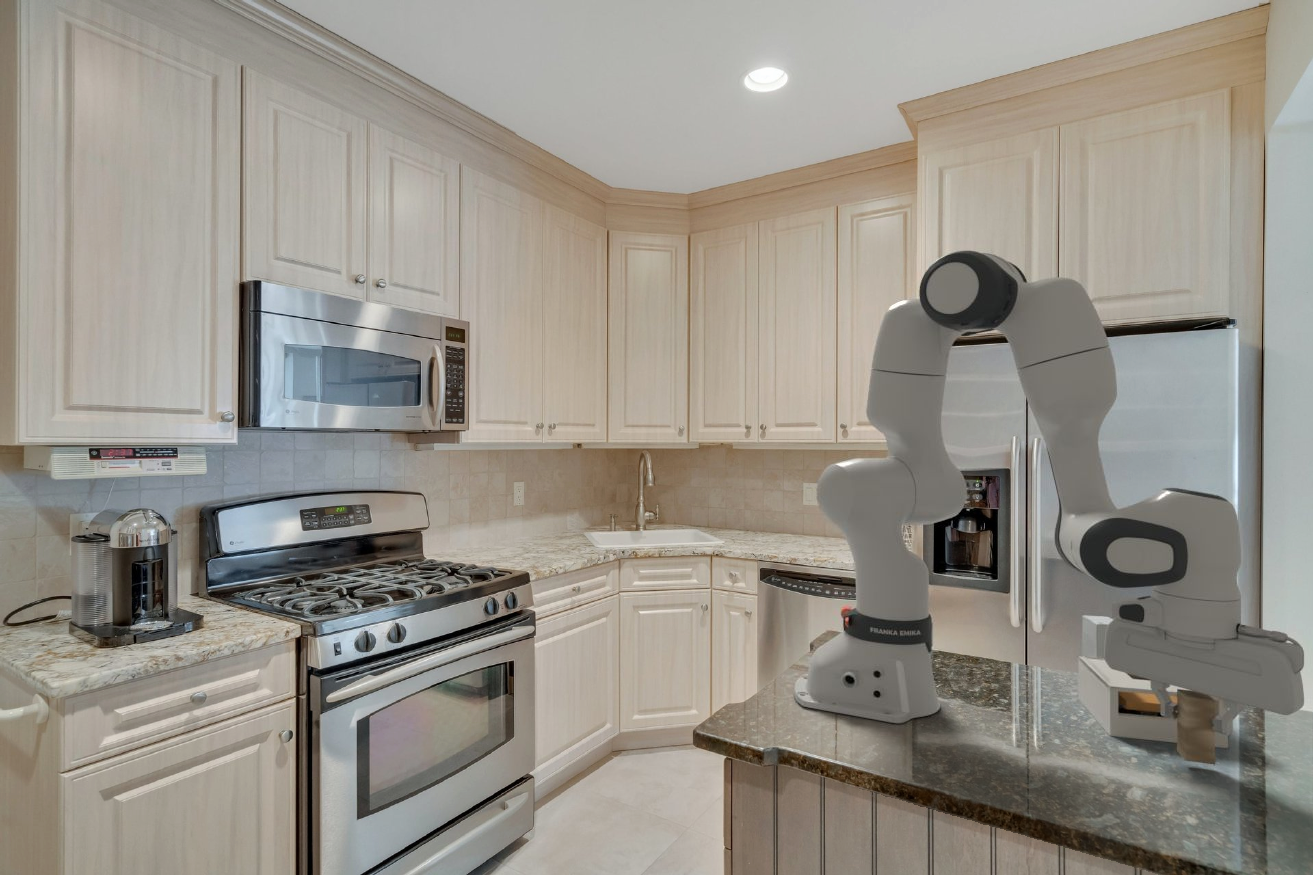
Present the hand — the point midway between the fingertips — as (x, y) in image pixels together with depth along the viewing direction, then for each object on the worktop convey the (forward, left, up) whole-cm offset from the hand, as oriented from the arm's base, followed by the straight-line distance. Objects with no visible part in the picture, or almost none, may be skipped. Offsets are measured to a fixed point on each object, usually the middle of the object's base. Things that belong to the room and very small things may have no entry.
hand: (1195, 724), depth 87 cm
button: (0, +15, -4) cm, 16 cm away
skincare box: (-2, +27, -6) cm, 28 cm away
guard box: (0, +15, -6) cm, 16 cm away
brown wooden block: (0, 0, -4) cm, 4 cm away
